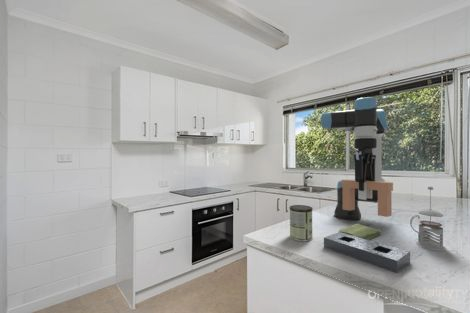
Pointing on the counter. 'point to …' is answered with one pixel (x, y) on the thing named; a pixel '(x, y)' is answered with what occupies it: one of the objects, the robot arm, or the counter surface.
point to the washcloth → (361, 231)
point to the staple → (382, 188)
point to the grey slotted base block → (368, 251)
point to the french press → (426, 240)
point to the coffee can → (301, 222)
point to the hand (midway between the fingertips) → (365, 198)
